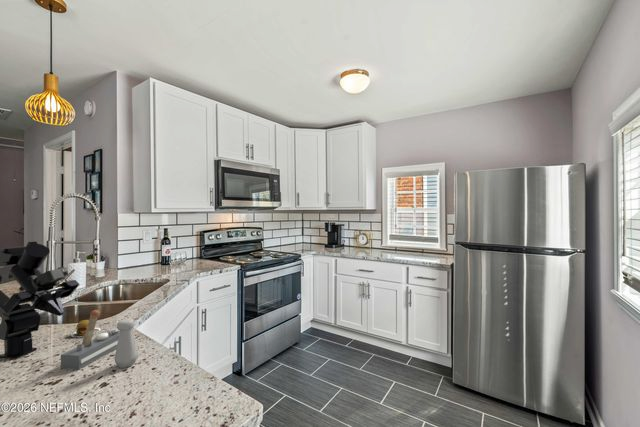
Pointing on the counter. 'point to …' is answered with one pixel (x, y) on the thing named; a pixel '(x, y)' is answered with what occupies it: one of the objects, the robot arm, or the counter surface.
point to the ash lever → (90, 327)
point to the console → (89, 352)
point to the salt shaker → (126, 344)
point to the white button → (102, 336)
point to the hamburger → (82, 328)
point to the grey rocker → (113, 330)
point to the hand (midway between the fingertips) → (61, 314)
